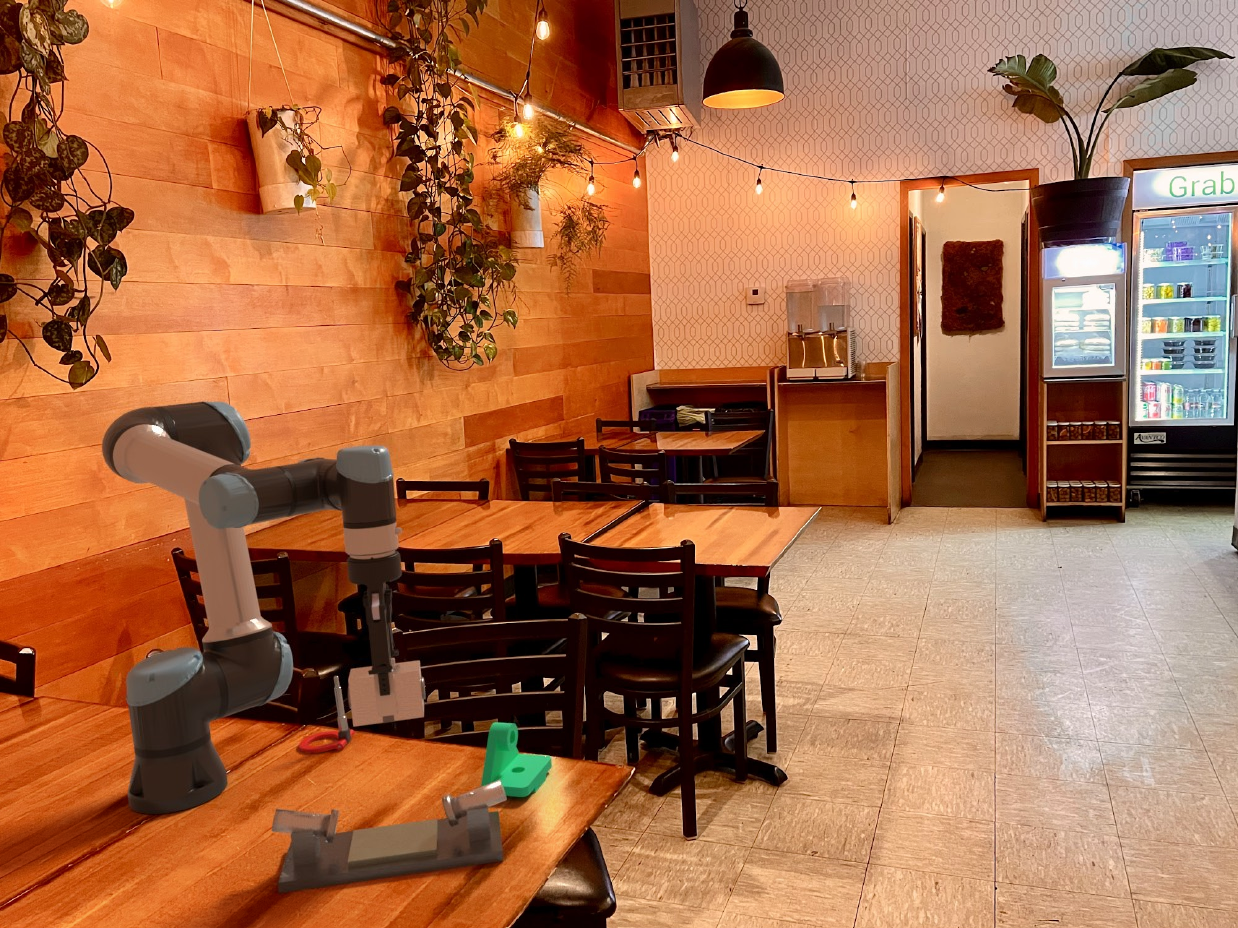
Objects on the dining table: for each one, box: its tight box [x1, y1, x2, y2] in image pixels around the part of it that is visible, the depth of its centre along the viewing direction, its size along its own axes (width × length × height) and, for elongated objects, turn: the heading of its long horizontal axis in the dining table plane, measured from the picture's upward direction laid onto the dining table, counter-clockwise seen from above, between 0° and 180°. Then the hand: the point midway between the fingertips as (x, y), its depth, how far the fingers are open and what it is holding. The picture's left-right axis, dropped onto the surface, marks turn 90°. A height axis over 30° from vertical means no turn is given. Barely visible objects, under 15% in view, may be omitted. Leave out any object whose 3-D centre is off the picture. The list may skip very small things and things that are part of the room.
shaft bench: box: [271, 780, 508, 894], centre depth 140 cm, size 32×12×9 cm, turn 100°
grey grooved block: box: [347, 660, 426, 727], centre depth 145 cm, size 11×5×7 cm, turn 101°
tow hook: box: [298, 675, 355, 754], centre depth 182 cm, size 8×13×9 cm
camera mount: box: [480, 721, 553, 798], centre depth 160 cm, size 12×8×10 cm, turn 163°
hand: (388, 707), depth 145 cm, fingers closed on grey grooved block, 5 cm apart
